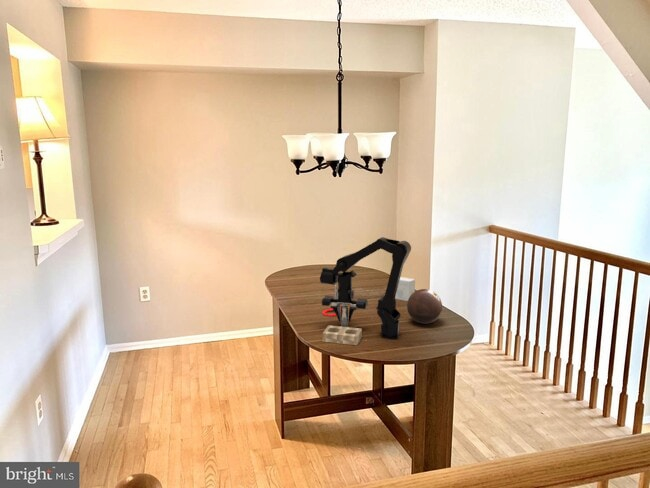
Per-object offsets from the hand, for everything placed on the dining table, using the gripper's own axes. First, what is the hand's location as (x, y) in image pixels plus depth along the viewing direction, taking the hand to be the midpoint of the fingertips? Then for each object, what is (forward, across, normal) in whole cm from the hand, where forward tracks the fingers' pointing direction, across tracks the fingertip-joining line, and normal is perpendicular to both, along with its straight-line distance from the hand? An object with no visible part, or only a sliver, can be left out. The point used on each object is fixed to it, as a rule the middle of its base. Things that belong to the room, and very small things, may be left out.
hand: (344, 321), depth 204 cm
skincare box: (+3, -19, -49) cm, 53 cm away
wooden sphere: (+3, -32, -16) cm, 36 cm away
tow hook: (+3, +10, -17) cm, 20 cm away
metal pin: (+3, 0, 0) cm, 3 cm away
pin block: (+3, -2, +12) cm, 13 cm away
